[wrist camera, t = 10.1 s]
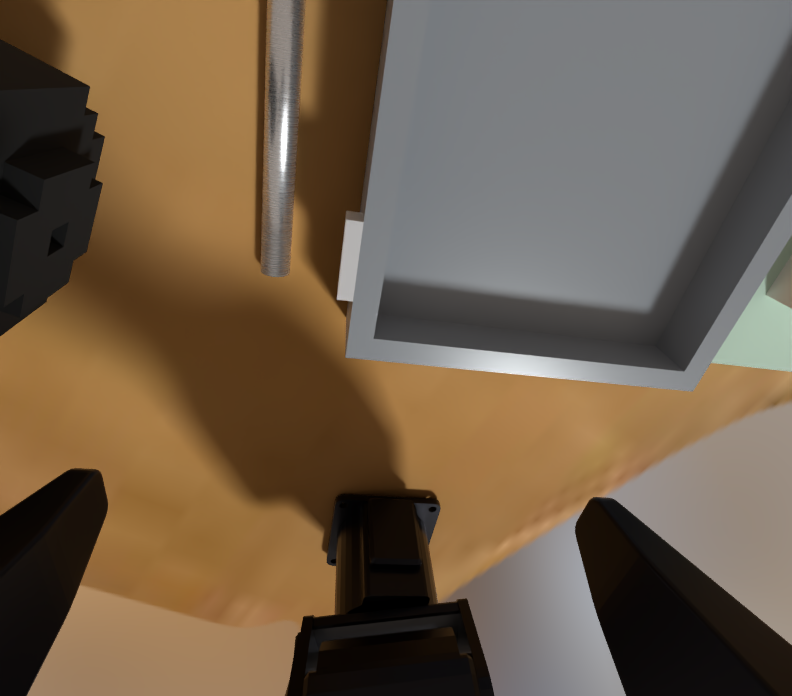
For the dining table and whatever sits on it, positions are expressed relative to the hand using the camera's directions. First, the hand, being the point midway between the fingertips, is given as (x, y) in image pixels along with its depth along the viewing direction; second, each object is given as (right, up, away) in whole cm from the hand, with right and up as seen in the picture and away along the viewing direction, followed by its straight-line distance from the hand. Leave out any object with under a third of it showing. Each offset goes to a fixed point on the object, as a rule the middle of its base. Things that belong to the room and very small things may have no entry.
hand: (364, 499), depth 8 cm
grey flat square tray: (+8, +11, +9) cm, 16 cm away
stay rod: (-3, +12, +7) cm, 14 cm away
